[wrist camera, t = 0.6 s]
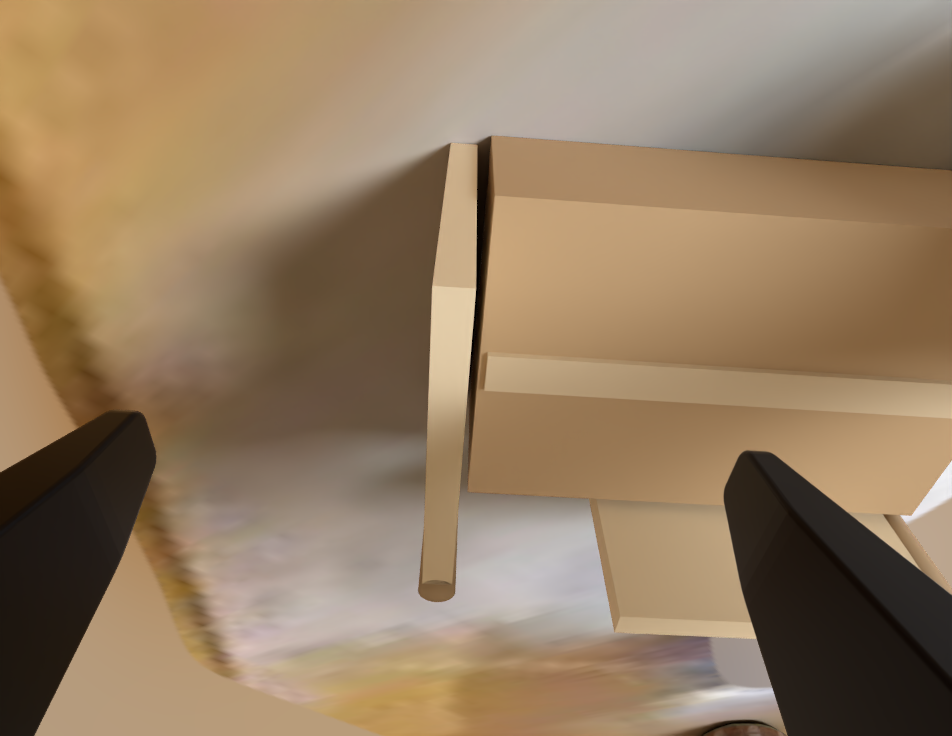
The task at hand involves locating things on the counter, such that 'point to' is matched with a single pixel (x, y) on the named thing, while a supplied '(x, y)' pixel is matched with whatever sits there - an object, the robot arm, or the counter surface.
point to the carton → (710, 324)
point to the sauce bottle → (745, 730)
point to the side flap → (695, 566)
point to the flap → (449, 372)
